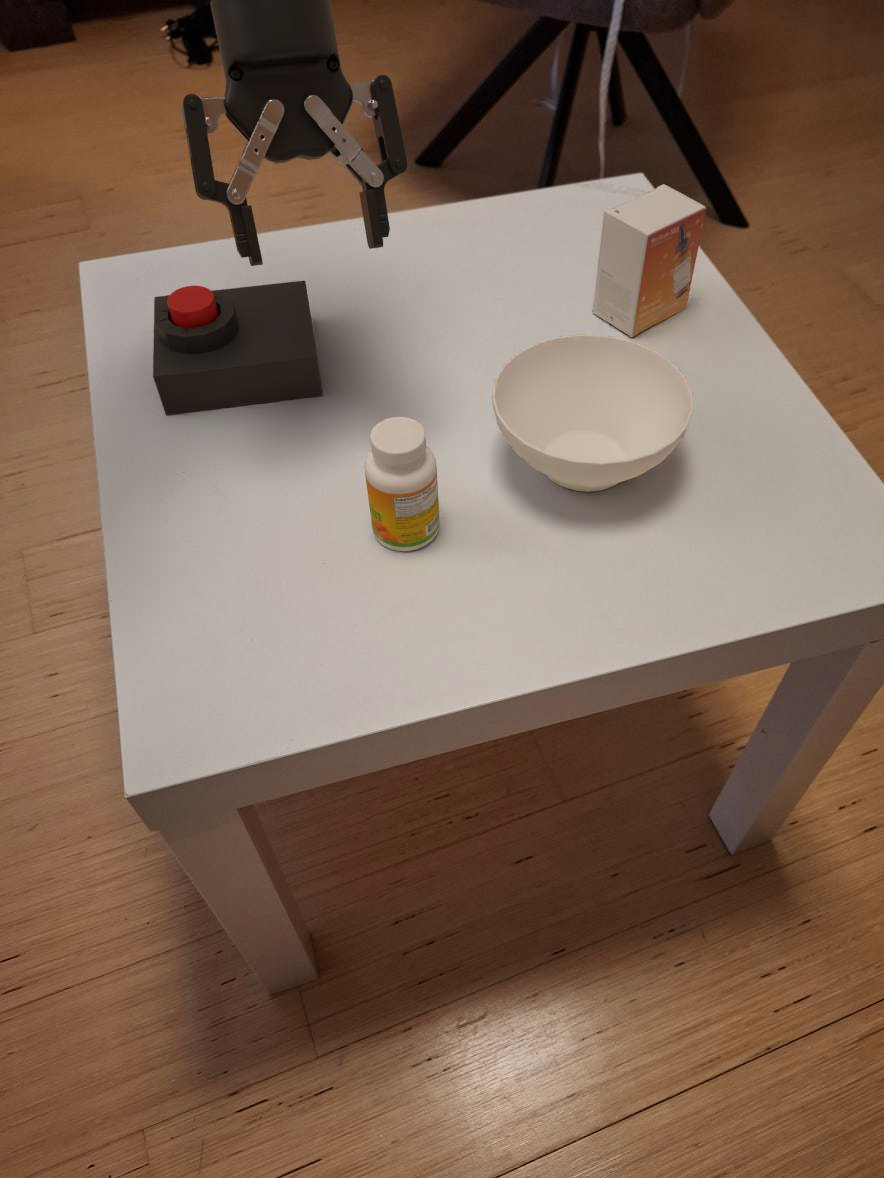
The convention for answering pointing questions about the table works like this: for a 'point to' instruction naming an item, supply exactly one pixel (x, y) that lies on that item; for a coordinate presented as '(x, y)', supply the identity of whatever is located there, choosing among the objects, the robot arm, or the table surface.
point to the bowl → (591, 409)
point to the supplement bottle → (402, 485)
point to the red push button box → (238, 351)
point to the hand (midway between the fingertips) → (316, 256)
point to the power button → (192, 306)
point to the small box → (647, 259)
